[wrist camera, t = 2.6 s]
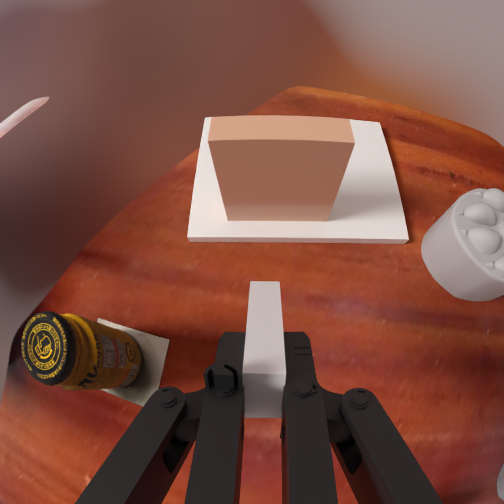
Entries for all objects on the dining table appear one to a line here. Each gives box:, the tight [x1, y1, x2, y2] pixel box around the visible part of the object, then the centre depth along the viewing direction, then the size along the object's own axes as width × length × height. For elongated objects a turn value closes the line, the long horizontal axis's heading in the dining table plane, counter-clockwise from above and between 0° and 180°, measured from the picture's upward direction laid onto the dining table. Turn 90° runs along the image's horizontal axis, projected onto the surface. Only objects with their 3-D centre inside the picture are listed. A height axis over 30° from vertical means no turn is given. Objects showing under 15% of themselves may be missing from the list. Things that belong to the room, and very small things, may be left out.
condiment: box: [21, 311, 169, 406], centre depth 21 cm, size 7×8×12 cm
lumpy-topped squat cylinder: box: [421, 188, 504, 301], centre depth 25 cm, size 10×13×9 cm
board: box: [187, 117, 409, 244], centre depth 33 cm, size 23×17×1 cm
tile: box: [208, 116, 355, 222], centre depth 25 cm, size 10×3×12 cm, turn 89°
